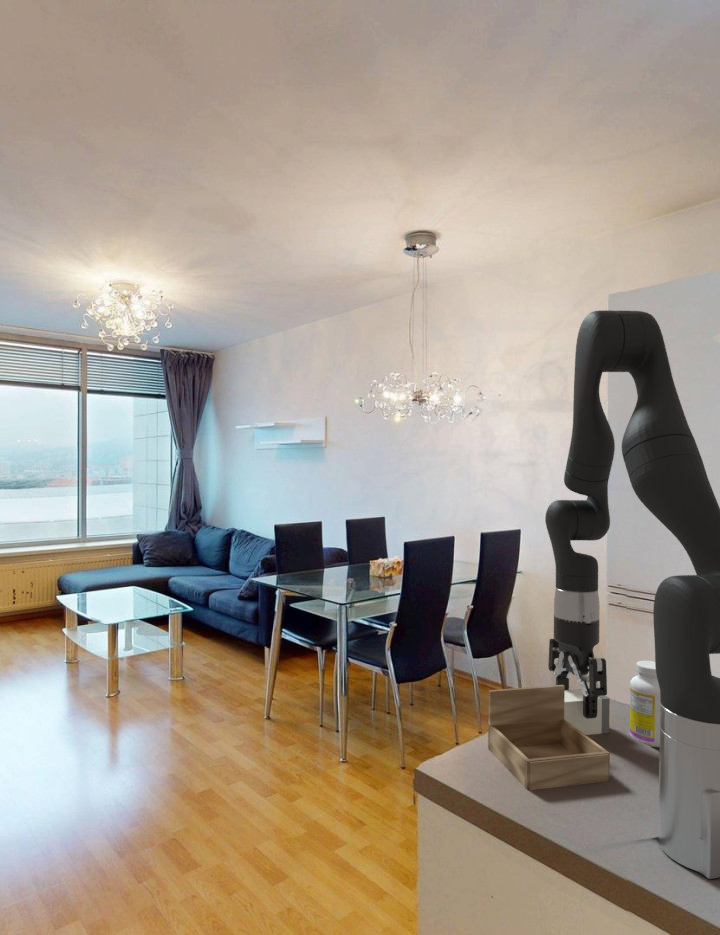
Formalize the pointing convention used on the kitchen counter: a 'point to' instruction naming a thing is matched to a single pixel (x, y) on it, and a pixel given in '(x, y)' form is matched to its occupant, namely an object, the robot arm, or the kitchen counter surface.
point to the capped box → (575, 713)
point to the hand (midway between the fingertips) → (575, 707)
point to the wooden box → (542, 739)
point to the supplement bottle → (645, 704)
